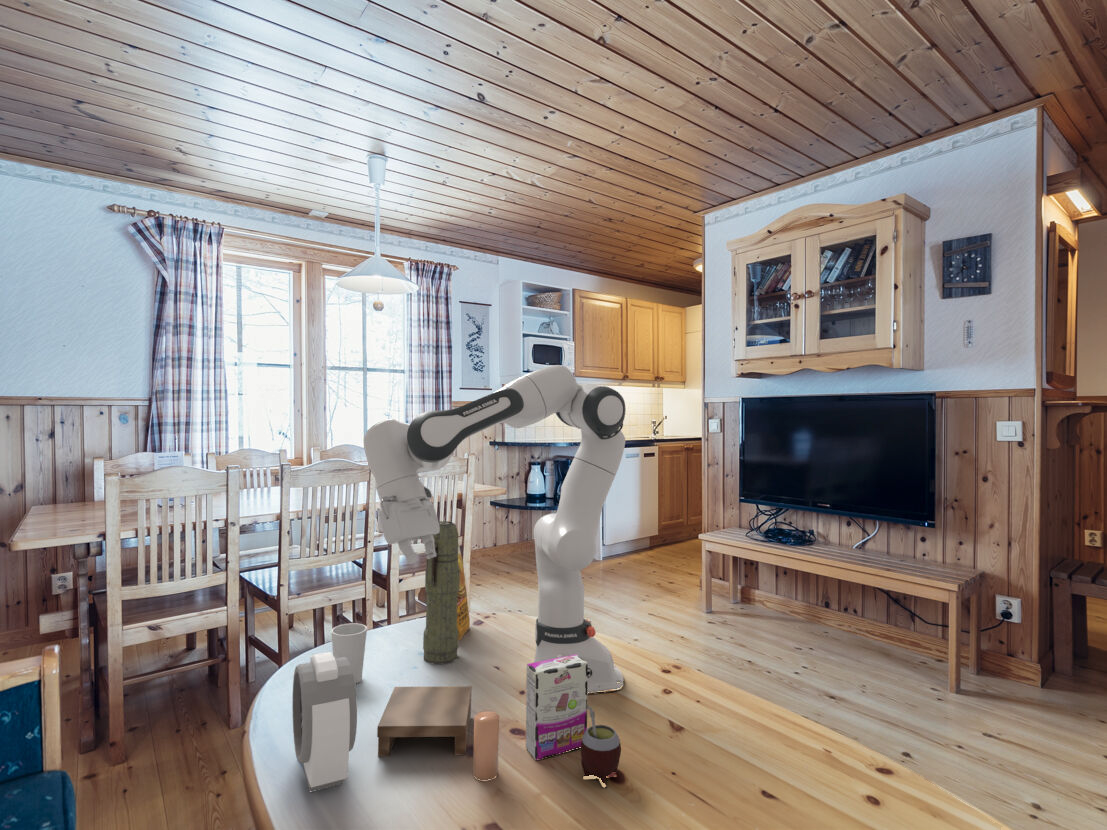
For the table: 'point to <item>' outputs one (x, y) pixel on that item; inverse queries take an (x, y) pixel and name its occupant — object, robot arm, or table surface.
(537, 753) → the candy bar box
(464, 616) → the pancake mix bag
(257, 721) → the table surface
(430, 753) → the table surface
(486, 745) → the peach cylinder
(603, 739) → the mate gourd
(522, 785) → the table surface
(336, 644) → the cup
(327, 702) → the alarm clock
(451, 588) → the thermos
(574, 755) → the table surface
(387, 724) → the walnut shelf
